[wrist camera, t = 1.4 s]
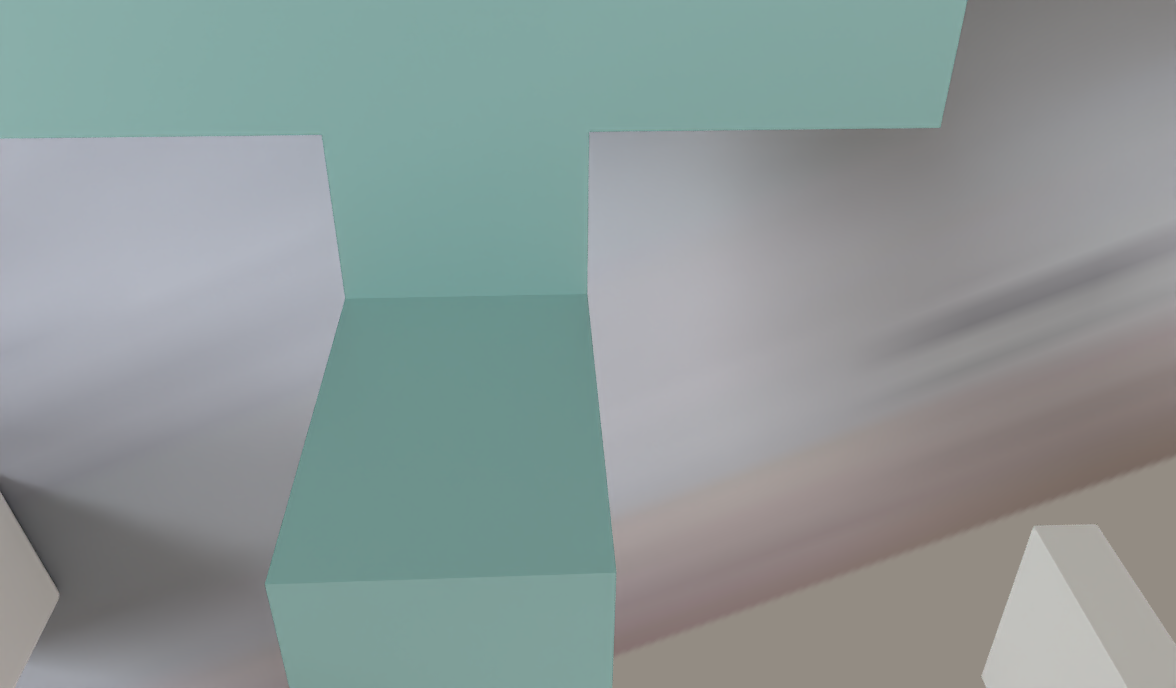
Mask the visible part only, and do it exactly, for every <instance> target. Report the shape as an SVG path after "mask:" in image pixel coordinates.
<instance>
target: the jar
mask: <svg viewBox="0 0 1176 688" xmlns="http://www.w3.org/2000/svg"><path fill="white" fill-rule="evenodd" d="M58 600H59V591H58V590H57V588H56V586H55V584H54V583H53V581H52V579H51V578H50V576H49V574H48V572H47V571H46V569H45V567H44V566H43V564H42V562H41V560H40V559H39V557H38V555H37V554H36V552H35V550H34V548H33V547H32V545H31V543H30V542H29V540H28V538H27V536H26V535H25V533H24V531H23V529H22V528H21V526H20V524H19V523H18V521H17V519H16V517H15V516H14V514H13V512H12V511H11V509H10V507H9V505H8V504H7V502H6V500H5V499H4V497H3V495H2V493H1V492H0V688H15V686H16V684H17V682H18V680H19V678H20V676H21V674H22V672H23V670H24V668H25V666H26V664H27V662H28V660H29V658H30V656H31V654H32V652H33V650H34V648H35V646H36V644H37V642H38V640H39V638H40V636H41V634H42V632H43V630H44V628H45V626H46V624H47V622H48V620H49V618H50V616H51V614H52V612H53V610H54V608H55V606H56V604H57V602H58Z"/></svg>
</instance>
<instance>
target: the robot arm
mask: <svg viewBox="0 0 1176 688" xmlns="http://www.w3.org/2000/svg"><path fill="white" fill-rule="evenodd" d="M981 677H982V678H983V681H984V683H985V686H986V688H1176V644H1175V643H1174V641H1173V640H1172V638H1171V637H1170V635H1169V634H1168V632H1167V631H1166V629H1165V628H1164V626H1163V625H1162V623H1161V622H1160V620H1159V618H1158V617H1157V615H1156V614H1155V612H1154V611H1153V609H1152V608H1151V606H1150V605H1149V603H1148V602H1147V600H1146V599H1145V597H1144V596H1143V594H1142V593H1141V591H1140V589H1139V588H1138V586H1137V585H1136V583H1135V582H1134V580H1133V579H1132V577H1131V576H1130V574H1129V573H1128V571H1127V570H1126V568H1125V567H1124V565H1123V564H1122V562H1121V560H1120V559H1119V558H1118V556H1117V554H1116V553H1115V551H1114V550H1113V548H1112V547H1111V545H1110V544H1109V542H1108V541H1107V539H1106V538H1105V536H1104V535H1103V533H1102V531H1101V530H1100V529H1099V527H1098V525H1097V524H1085V525H1040V526H1033V529H1032V532H1031V535H1030V538H1029V541H1028V543H1027V546H1026V549H1025V552H1024V555H1023V558H1022V561H1021V564H1020V567H1019V569H1018V572H1017V575H1016V578H1015V581H1014V584H1013V587H1012V590H1011V593H1010V595H1009V598H1008V601H1007V604H1006V607H1005V610H1004V613H1003V616H1002V619H1001V622H1000V624H999V627H998V630H997V633H996V636H995V639H994V642H993V645H992V648H991V651H990V653H989V657H988V659H987V662H986V665H985V668H984V671H983V673H982V676H981Z"/></svg>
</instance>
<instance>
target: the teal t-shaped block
mask: <svg viewBox="0 0 1176 688" xmlns="http://www.w3.org/2000/svg"><path fill="white" fill-rule="evenodd" d="M966 5H967V0H0V138H87V137H176V136H264V135H322V140H323V147H324V154H325V161H326V168H327V175H328V181H329V188H330V195H331V202H332V209H333V216H334V223H335V230H336V237H337V244H338V251H339V258H340V265H341V272H342V279H343V286H344V293H345V302H344V305H343V309H342V312H341V316H340V319H339V323H338V327H337V330H336V334H335V337H334V341H333V344H332V348H331V351H330V355H329V358H328V362H327V366H326V369H325V373H324V376H323V380H322V383H321V387H320V390H319V394H318V397H317V401H316V405H315V408H314V412H313V415H312V419H311V422H310V426H309V429H308V433H307V436H306V440H305V444H304V447H303V451H302V454H301V458H300V461H299V465H298V468H297V472H296V476H295V479H294V483H293V486H292V490H291V493H290V497H289V500H288V504H287V507H286V511H285V515H284V518H283V522H282V525H281V529H280V532H279V536H278V539H277V543H276V546H275V550H274V554H273V557H272V561H271V564H270V568H269V571H268V575H267V578H266V582H265V588H266V592H267V596H268V600H269V604H270V609H271V613H272V617H273V621H274V625H275V630H276V634H277V638H278V642H279V646H280V650H281V655H282V659H283V663H284V667H285V671H286V676H287V680H288V684H289V688H612V680H613V652H614V624H615V596H616V565H615V555H614V546H613V536H612V527H611V517H610V508H609V498H608V488H607V479H606V469H605V460H604V450H603V441H602V431H601V422H600V412H599V402H598V393H597V383H596V374H595V364H594V355H593V345H592V336H591V326H590V316H589V307H588V297H587V262H588V169H589V132H617V131H706V130H794V129H883V128H940V127H941V122H942V118H943V113H944V108H945V103H946V99H947V94H948V89H949V85H950V80H951V75H952V71H953V66H954V61H955V57H956V52H957V47H958V42H959V38H960V33H961V28H962V24H963V19H964V14H965V10H966Z"/></svg>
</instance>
